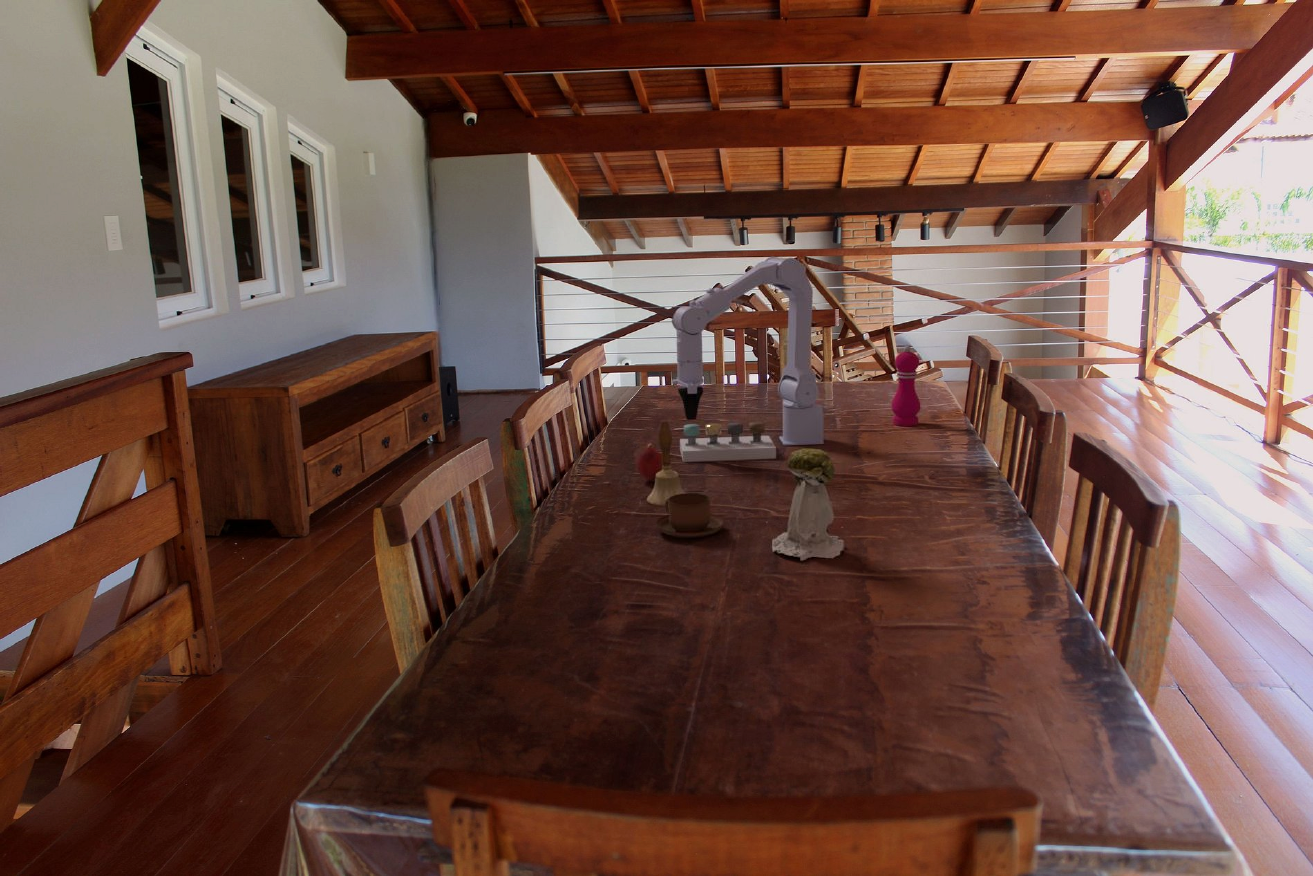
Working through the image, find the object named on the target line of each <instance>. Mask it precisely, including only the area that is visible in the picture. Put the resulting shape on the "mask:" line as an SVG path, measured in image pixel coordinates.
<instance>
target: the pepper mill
mask: <svg viewBox="0 0 1313 876" xmlns="http://www.w3.org/2000/svg"><path fill="white" fill-rule="evenodd" d="M911 350H912V348H911V346H909V345H905V346H904V347H903V351H902V352H900V353H898V354H897V355H896V357H895V358H894V366H895V368H896V369H897V371H896V377H897V379H898V385H897V386H898V387H897V390H896V392H895V395H894V397H893V399H892V401H891V405H890V406H891V407H890V408H891V409H890V410H891V411H892V412H893V413H894V416H893V417H892V424H893V425H895V426H898V425H902V426H901V427H912V426H911V425H915V426H918V424H919V417H918V415H917V414H919V412H920V411H921V401H920V399H919V397H918V393H917V390H916V387H915V386H916V385H915V383H916V378H917V377H918V375H917V374H918V371H917V369H918V368H919V365H920V358H919V357H918V355H917V353H915V352H911Z"/></svg>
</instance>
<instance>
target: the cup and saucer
mask: <svg viewBox="0 0 1313 876" xmlns="http://www.w3.org/2000/svg"><path fill="white" fill-rule="evenodd" d="M664 508H665V509H664V510H665V511H666V512H667V514H666V515H663V516H661V517H659V518H658V519H657V520H656V521H655V525H656V526H655V527H656V528H657V529H658V530H659V531H660V532H661V533H663V534H664V535H666V536H669V537H675V538H681V539H682V538H683V539H692V538H693V539H695V538H702V537H707V536H710V535H713V534H715V533H718V531H719V530H721V529H722V528H723V526H724V521H725V520H724V518H722V517H720V516H719V515H718V514H717V515H716V514H713V513H711V497H710V496H708V495H706V494H704V493H695V492H688V493H687V492H685V493H684V494H677V495H674V496H671V497H670V498H669V499H667V500H666V502H665V506H664Z"/></svg>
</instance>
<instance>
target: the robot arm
mask: <svg viewBox="0 0 1313 876" xmlns="http://www.w3.org/2000/svg"><path fill="white" fill-rule="evenodd" d="M806 272H807V267H806V266H805V265H804V264H803V263H802V262H801V261H799V260H798V259H796V258H793V257H778V256H770V257H767V258H766V259H765V260H764V261H760V262H758V263H756V265H755V266H753V267H752V268H751V269H749V270H748V271H746V272H744V273H743V274H742V275H741V276H739V277H738V278H737V279H735V280H734V281H732V283H730V284H728V285H726V287H724V288H720V287H714V288H712V287H709V288H708V289H706V290H705V294H704V295H702V296H700V297H699V298H696V299H695V300H694V299H692V300H690V301H689V306H685V305H684V306H681V307H679V308H678V309H676V311H675V313H674V314H673V317H672V319H671V323H672V326H673V328H674V329H675V330H676V364H677V365H676V367H677V373H676V374H677V378H676V379H675V378H674V379H672V384H673V385H676V384H677V385H680V386H682V387H680V388H677V391H678V394H679V396H680V398H681V400H682V404H683V409H684V414H685V418H686V421H695V420H697V416H698V409H699V404H700V400H701V398H702V395H703V394H704V388H703V386H701V385H703V384H704V382H705V381H704V376H703V373H704V370H703V366H704V365H703V334H702V332H703V331H704V330H705V328H706V326H707V324H708V323H710V322H712V321H713V320H715V319H716V318H718V317H719V316H721V315H722V314H724V313H726V312H727V311H728V310H730V309H731V305H732V302H733V301H735V300H736V299H737V298H740V297H741V296H743V295H744V294H747V293H748V292H751V290H753V289H755V288H757V287H759V286H761V285H772V286H774V287H776V288H778V289H779V290H780V291H781V292H782V293H783V294H785V296H787V298H788V315H787V316H788V317H787V318H788V320H787V321H788V322H787V344H786V345H787V346H786V347H787V349H786V351H787V352H786V365H785V366H784V367H783V369H782V370H781V378H780V380H779V382H778V385H777V393H778V395H779V397H780V398H781V399H782V435H781V436H779V440H780V441H781V443H782V445H784V446H801V445H802V446H805V445H806V446H807V445H824V444H825V442H824V410H823V406H822V405H821V404H815V403H816V401H817V400H818V399H819V394H820V391H819V386H818V384H817V380H816V378H817V377H816V376H817V375H816V373H815V372H814V370H813V367H812V366H811V350H812V349H811V346H812V321H813V298H814V297H813V293H814V292H813V291H814V290H813V286H812V284H811V283H810V279H809V278H808V275H807V273H806Z"/></svg>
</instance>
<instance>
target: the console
mask: <svg viewBox="0 0 1313 876" xmlns="http://www.w3.org/2000/svg"><path fill="white" fill-rule="evenodd" d="M717 438H718V443H716V444H710V437H703V438H702V437H701V438H699V437H698V438H697V437H696V444H694V445H689V444H688V438H680V439H679V451H680V455H681V456H680V457H681V459H682V463H688V462H689V463H690V462H692V463H693V462H695V463H696V462H697V463H698V462H715V461H716V462H717V461H719V462H720V461H742V460H767V459H768V460H770V459H777V447H776V446H775V444H774V442H773V440H772V439H771V437H770V436H769V435H761V442H753V435H752V436H750V435H749V436H739V443H732V442H731V436H729V437H727V436H725V437H717Z"/></svg>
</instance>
